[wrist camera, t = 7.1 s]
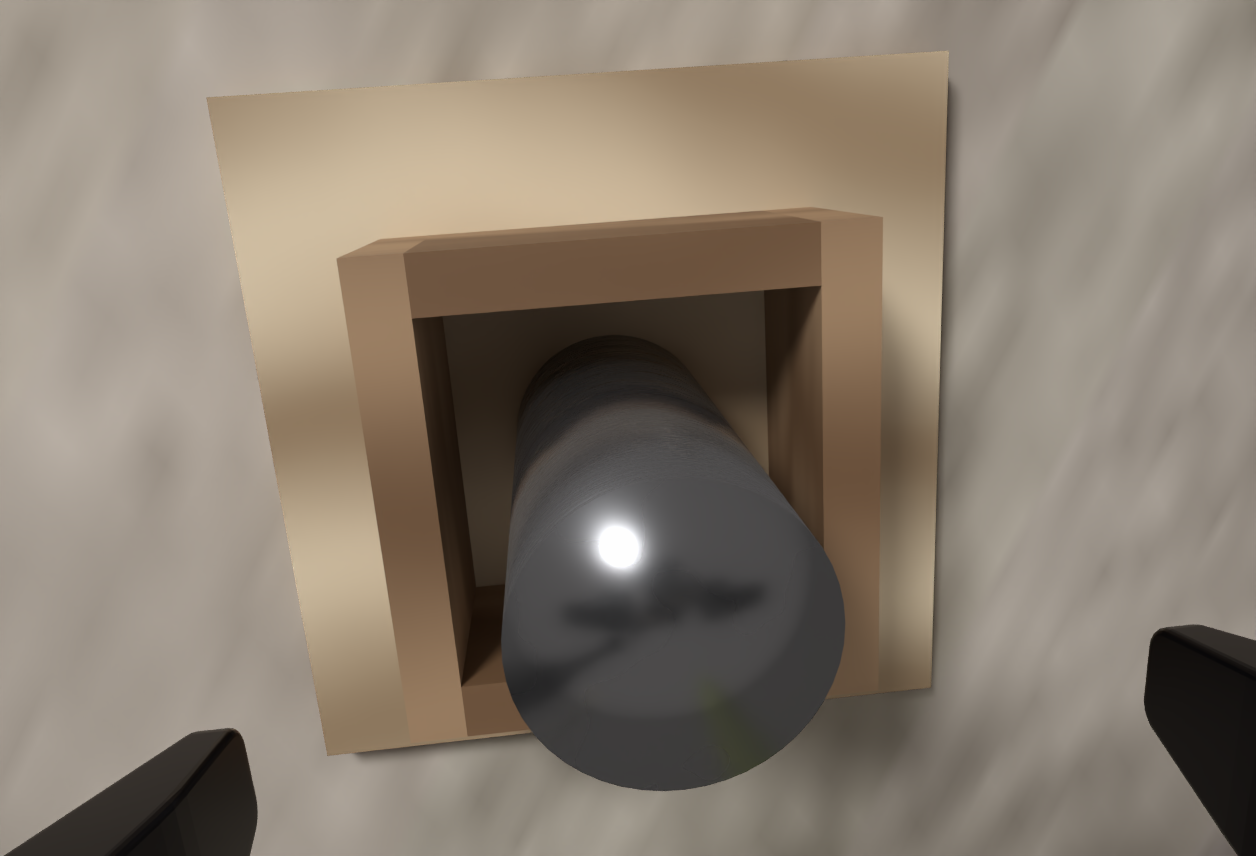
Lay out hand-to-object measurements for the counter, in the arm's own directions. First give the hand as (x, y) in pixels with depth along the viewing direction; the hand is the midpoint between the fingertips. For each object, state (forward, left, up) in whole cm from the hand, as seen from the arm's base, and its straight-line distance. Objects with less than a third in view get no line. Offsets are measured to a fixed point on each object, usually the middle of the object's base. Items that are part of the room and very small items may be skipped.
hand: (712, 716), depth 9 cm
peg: (0, 0, -11) cm, 11 cm away
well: (0, 0, -12) cm, 12 cm away
